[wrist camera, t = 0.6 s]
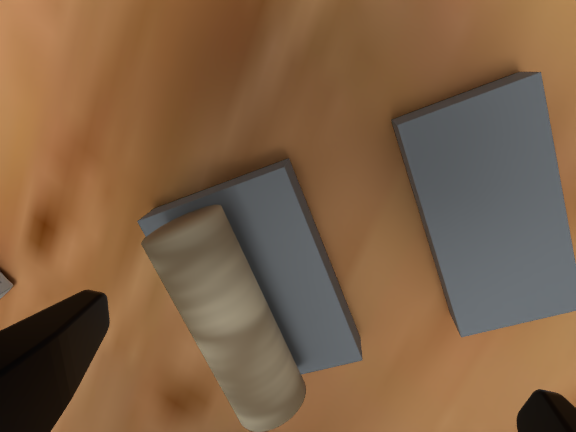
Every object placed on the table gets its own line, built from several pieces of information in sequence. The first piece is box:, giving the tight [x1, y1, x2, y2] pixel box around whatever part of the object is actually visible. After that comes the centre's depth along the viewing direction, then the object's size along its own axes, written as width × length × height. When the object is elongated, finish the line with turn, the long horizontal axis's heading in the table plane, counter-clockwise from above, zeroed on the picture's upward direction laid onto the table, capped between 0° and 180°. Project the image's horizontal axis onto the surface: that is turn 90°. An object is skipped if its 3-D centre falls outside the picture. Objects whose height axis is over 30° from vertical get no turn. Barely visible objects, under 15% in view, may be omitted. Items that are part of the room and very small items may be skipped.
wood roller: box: [141, 205, 306, 432], centre depth 20 cm, size 4×11×4 cm, turn 22°
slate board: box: [137, 72, 576, 374], centre depth 21 cm, size 20×12×2 cm, turn 112°
